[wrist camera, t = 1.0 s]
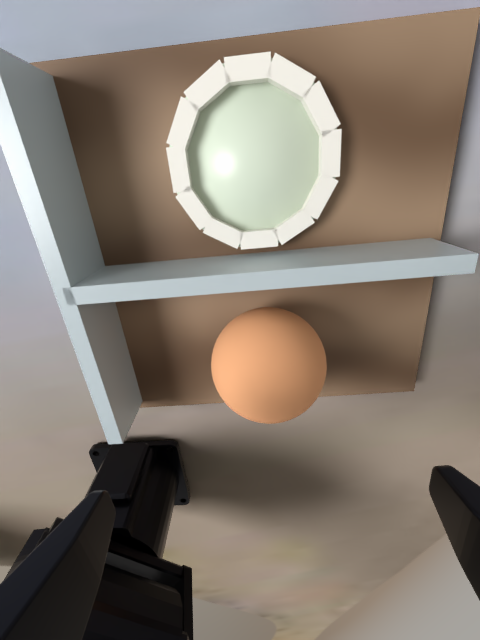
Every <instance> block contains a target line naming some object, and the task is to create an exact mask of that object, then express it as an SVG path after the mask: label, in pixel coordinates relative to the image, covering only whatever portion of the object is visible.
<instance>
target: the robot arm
mask: <svg viewBox="0 0 480 640" xmlns="http://www.w3.org/2000/svg"><path fill="white" fill-rule="evenodd" d="M170 447H172V448H170ZM89 454H90V457H91V459H92V462H93V464H94V467H95V469H96V472H97V474H96V476H95V478H94V480H93V482H92V484H91V486H90V488H89V490H88V492H87V494H86V496H85V498H84V499H83V500H82V501H81V503H80V504H79V505H78V506H77V507H76V508H75V509H74V510H73V511H72V512H71V513H70V514H69V515H68V516H67V517H66V518H65V519H61V518H59V517H57V518H56V520H55V521H54V523H53V525H52V526H51V528H47V527H46V528H45V529H37V530H34V531H33V533H32V534H31V536H30V537H29V539H28V541H27V542H26V544H25V546H24V547H23V549H22V551H21V552H20V554H19V556H18V557H17V559H16V561H15V562H14V564H13V566H12V567H11V569H10V571H9V572H8V574H7V576H6V577H5V579H4V581H3V582H2V583H1V584H0V640H193V611H192V609H193V608H192V607H193V606H192V568H190V567H188V566H185V565H183V566H180V565H177V564H175V563H172V562H169V561H167V560H164V559H162V557H163V553H164V548H165V544H166V539H167V535H168V530H169V526H170V521H171V517H172V512H173V507H174V505H186V504H188V503H189V501H190V492H189V488H188V484H187V480H186V475H185V471H184V467H183V462H182V458H181V454H180V450H179V445H178V443H177V442H176V441H173V440H164V441H146V442H128V443H123V444H95V445H93V446H92V447H91V449H90V451H89ZM429 491H430V495H431V498H432V500H433V503H434V505H435V507H436V510H437V512H438V514H439V517H440V519H441V521H442V524H443V526H444V528H445V531H446V533H447V535H448V537H449V540H450V542H451V544H452V547H453V549H454V551H455V553H456V556H457V558H458V560H459V562H460V564H461V566H462V568H463V570H464V572H465V574H466V576H467V578H468V580H469V581H470V583H471V585H472V587H473V589H474V591H475V593H476V594H477V596H478V598H479V600H480V486H478V485H477V484H476V483H474V482H473V481H472V480H470V479H469V478H467V477H466V476H465V475H463V474H462V473H460V472H459V471H458V470H456V469H455V468H453V467H452V466H449V465H444V466H435V467H434V468H433V469H432V474H431V479H430V484H429Z"/></svg>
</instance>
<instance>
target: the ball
mask: <svg viewBox="0 0 480 640" xmlns="http://www.w3.org/2000/svg"><path fill="white" fill-rule="evenodd" d="M211 371H212V377H213V381H214V384H215V387H216V389H217V391H218V393H219V395H220V397H221V398H222V399H223V401H224V402H225V403H226V404H227V405H228V406H229V407H230V408H231V409H232V410H233V411H235V412H236V413H237V414H239V415H240V416H242V417H244V418H246V419H248V420H251V421H255V422H259V423H267V424H272V423H280V422H285V421H288V420H291V419H293V418H295V417H297V416H299V415H301V414H302V413H303V412H305V411H306V410H307V409H308V408H309V407H310V406H311V405H312V404H313V403H314V402H315V400H316V399H317V398H318V396H319V394H320V392H321V390H322V388H323V385H324V382H325V378H326V371H327V363H326V354H325V350H324V347H323V344H322V342H321V340H320V338H319V336H318V335H317V333H316V332H315V330H314V329H313V328H312V326H310V325H309V324H308V323H307V322H306V321H305V320H304V319H302V318H301V317H300V316H298V315H296V314H294V313H292V312H290V311H287V310H284V309H280V308H274V307H262V308H256V309H252V310H249V311H246V312H244V313H242V314H240V315H239V316H237V317H236V318H234V319H233V320H232V321H230V322H229V323H228V324H227V325H226V326H225V328H224V329H223V330H222V332H221V333H220V335H219V336H218V338H217V340H216V343H215V345H214V348H213V352H212V359H211Z"/></svg>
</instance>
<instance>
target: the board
mask: <svg viewBox="0 0 480 640" xmlns="http://www.w3.org/2000/svg"><path fill="white" fill-rule="evenodd" d="M479 17H480V7H477V8H469V9H460V10H452V11H444V12H436V13H428V14H420V15H412V16H404V17H396V18H388V19H380V20H372V21H364V22H356V23H348V24H340V25H332V26H324V27H316V28H308V29H300V30H292V31H284V32H275V33H267V34H259V35H251V36H243V37H235V38H227V39H219V40H211V41H203V42H195V43H187V44H179V45H171V46H163V47H155V48H147V49H139V50H131V51H123V52H115V53H107V54H99V55H91V56H82V57H74V58H66V59H58V60H50V61H42V62H34V63H28V62H26V61H24V60H22V59H20V58H18V57H16V56H14V55H12V54H11V53H9V52H7V51H5V50H3V49H1V48H0V144H1V147H2V150H3V152H4V155H5V158H6V161H7V164H8V166H9V169H10V172H11V175H12V177H13V180H14V183H15V186H16V189H17V191H18V194H19V197H20V200H21V202H22V205H23V208H24V211H25V214H26V216H27V219H28V222H29V225H30V228H31V230H32V233H33V236H34V239H35V241H36V244H37V247H38V250H39V253H40V255H41V258H42V261H43V264H44V266H45V269H46V272H47V275H48V278H49V280H50V283H51V286H52V289H53V291H54V294H55V297H56V300H57V303H58V305H59V308H60V311H61V314H62V317H63V319H64V322H65V325H66V328H67V330H68V333H69V336H70V339H71V342H72V344H73V347H74V350H75V353H76V355H77V358H78V361H79V364H80V367H81V369H82V372H83V375H84V378H85V380H86V383H87V386H88V389H89V392H90V394H91V397H92V400H93V403H94V406H95V408H96V411H97V414H98V417H99V419H100V422H101V425H102V428H103V431H104V433H105V436H106V439H107V442H108V444H123V442H124V440H125V438H126V436H127V434H128V431H129V429H130V427H131V425H132V423H133V421H134V419H135V416H136V414H137V412H138V410H139V408H142V407H158V406H175V405H191V404H208V403H224V401H223V399H222V398H221V397H220V395H219V393H218V391H217V389H216V387H215V384H214V381H213V377H212V371H211V359H212V352H213V348H214V345H215V343H216V340H217V338H218V336H219V335H220V333H221V332H222V330H223V329H224V328H225V326H226V325H227V324H228V323H229V322H230V321H232V320H233V319H234V318H236V317H237V316H239V315H240V314H242V313H244V312H246V311H249V310H252V309H256V308H262V307H274V308H280V309H284V310H287V311H290V312H292V313H294V314H296V315H298V316H300V317H301V318H302V319H304V320H305V321H306V322H307V323H308V324H309V325H310V326H312V328H313V329H314V330H315V332H316V333H317V335H318V336H319V338H320V340H321V342H322V344H323V347H324V350H325V354H326V363H327V371H326V378H325V382H324V385H323V388H322V390H321V392H320V394H319V396H318V397H323V396H339V395H356V394H372V393H389V392H405V391H414V388H415V382H416V377H417V371H418V365H419V359H420V354H421V348H422V342H423V337H424V331H425V325H426V319H427V314H428V308H429V302H430V297H431V291H432V285H433V280H434V276H445V275H457V274H470V273H474V272H475V268H476V264H477V259H478V255H479V253H476V252H473V251H470V250H467V249H464V248H460V247H457V246H454V245H451V244H448V243H445V242H442V241H440V240H441V234H442V228H443V223H444V217H445V211H446V205H447V200H448V194H449V188H450V183H451V177H452V171H453V166H454V160H455V154H456V148H457V143H458V137H459V131H460V126H461V120H462V114H463V108H464V103H465V97H466V91H467V86H468V80H469V74H470V69H471V63H472V57H473V51H474V46H475V40H476V34H477V29H478V23H479Z"/></svg>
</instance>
